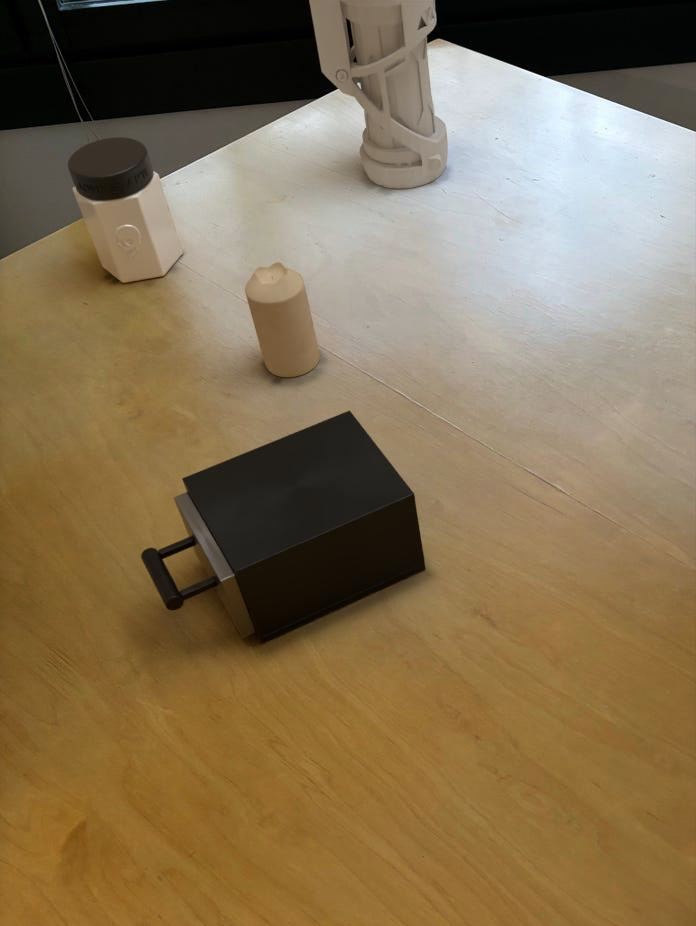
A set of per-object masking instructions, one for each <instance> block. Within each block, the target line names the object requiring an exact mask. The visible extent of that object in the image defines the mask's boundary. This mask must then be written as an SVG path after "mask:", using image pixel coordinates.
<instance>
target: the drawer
mask: <svg viewBox="0 0 696 926" xmlns="http://www.w3.org/2000/svg"><path fill="white" fill-rule="evenodd" d="M173 500H174V502H175V505H176V508H177V510H178V513H179V516H180V518H181V519H182V522H183V525H184V527H185V530H186V532H187V535H188V537H186V538H184V539H181V540H179V541H176V542H174V543H172V544H169V545H167V546H163V547H162V548H160V549H158V548H155V547H148V548H146V549H144V550H143V551H142V552H141V554H140V559H141V561H142V563H143V564H144V566H145V569H146V571H147V573H148V575H149V577H150V579H151V580H152V583H153V584H154V586H155V589H156V590H157V592H158V594H159V597H160V598H161V600H162V602H163V604H164V606H165V608H166V609H167V610H168V611H177V610H179V609H181V608H182V607H183V606H184V603H185V601H187V600H189V599H191V598H193V597H196V596H198V595H201V594H202V593H205V592H208V591H209V590H211V589H214V590H215V592H216V593H217V595H218V597H219V599H220V601H221V602H222V604H223V606H224V608H225V610H226V612H227V613H228V615H229V617H230V619H231V620H232V623H233V624H234V626H235V628H236V630H237V631H238V633H239V635H240V637H241V638H242V639H244V638H247V637H249V636H251V635H253V634H256V629H255V627H254V624H253V621H252V619H251V616H250V613H249V610H248V608H247V605H246V602H245V600H244V597H243V594H242V591H241V589H240V586H239V583H238V580H237V578H236V575H235V573H234V571H233V570H232V568H231V566H230V564H229V563H228V561H227V559H226V557H225V556H224V554H223V552H222V550H221V549H220V547H219V545H218V544H217V542H216V540H215V538H214V537H213V535H212V533H211V531H210V530H209V528H208V526H207V524H206V523H205V521H204V519H203V517H202V516H201V514H200V512H199V510H198V509H197V507H196V505H195V503H194V502H193V500H192V498H191V496H190V495H189V493H188V492H187V491H186V492H183V493H180V494H178V495H175V496H174V497H173ZM192 547H193V550H194V553H195V555H196V557H197V558H198V560H199V563H200V564H201V567H202V568H203V570H204V571H205V574H206V575H207V577H208V578H206V579H203V580H202V581H199V582H196V583H195V584H192V585H190V586H187V587H185V588H183V589H181V590H179V588H178V586H177V584H176V582H175V579H173V577H172V575H171V573H170V571H169V569H168V567H167V565H166V563H165V561H164V559H166V558H169V557H171V556H174V555H176V554H179V553H180V552H183V551H185V550H188V549H191V548H192Z"/></svg>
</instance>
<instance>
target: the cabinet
mask: <svg viewBox="0 0 696 926" xmlns="http://www.w3.org/2000/svg"><path fill="white" fill-rule="evenodd" d="M181 480H182V483H183V485H184V487H185V490H186V492H188V493H189V495H190V496H191V498H192V500H193V502H194V503H195V505H196V507H197V509H198V510H199V512H200V514H201V516H202V517H203V519H204V521H205V523H206V524H207V526H208V528H209V530H210V531H211V533H212V535H213V537H214V538H215V540H216V542H217V544H218V545H219V547H220V549H221V550H222V552H223V554H224V556H225V557H226V559H227V561H228V563H229V564H230V566H231V568H232V570H233V571H234V573H235V575H236V578H237V580H238V583H239V586H240V589H241V591H242V594H243V597H244V600H245V602H246V605H247V608H248V610H249V613H250V616H251V619H252V621H253V624H254V627H255V629H256V632H255V634H256V636H257V638H258V639H259V641H260V643H261V644H265V643H268V642H269V641H272V640H274V639H276V638H278V637H281V636H283V635H285V634H287V633H290V632H292V631H294V630H296V629H298V628H300V627H303V626H305V625H307V624H309V623H311V622H314V621H315V620H318V619H320V618H323V617H324V616H326V615H328V614H331V613H334V612H335V611H338V610H339V609H342V608H344V607H346V606H348V605H350V604H353V603H355V602H357V601H359V600H361V599H363V598H366V597H368V596H370V595H372V594H374V593H377V592H379V591H381V590H383V589H385V588H388V587H390V586H392V585H394V584H396V583H398V582H401V581H404V580H405V579H408V578H409V577H411V576H414V575H416V574H418V573H420V572H422V571H424V570H426V563H425V556H424V547H423V542H422V536H421V530H420V523H419V517H418V510H417V509H418V508H417V503H416V497H415V496H416V495H415V493H414V492H413V490H412V489H411V488H410V486H409V485H408V484H407V482H406V481H405V480H404V478H403V477H402V475H400V473H399V472H398V471H397V469H396V468H395V467H394V465H393V464H392V463H391V462H390V460H389V459H388V458H387V456H386V455H385V454H384V453H383V451H382V450H381V449H380V448H379V446H378V445H377V444H376V442H375V441H374V440H373V438H372V437H371V436H370V435H369V433H368V432H367V430H366V429H365V428H364V427H363V425H362V424H361V423H360V422H359V420H358V419H357V418H356V417H355V415H354V414H353V413H352V411H351V410H347V411H344V412H342V413H340V414H337V415H335V416H332V417H330V418H327V419H324V420H321V421H319V422H317V423H315V424H312V425H310V426H307V427H305V428H303V429H300V430H297V431H295V432H293V433H290V434H287V435H285V436H283V437H281V438H278V439H275V440H273V441H271V442H269V443H268V442H267V443H266V444H263V445H260V446H259V447H256V448H254V449H251V450H249V451H246V452H244V453H241V454H239V455H237V456H233V457H231V458H229V459H226V460H224V461H221V462H219V463H216V464H214V465H212V466H209V467H207V468H204V469H202V470H199V471H197V472H195V473H192V474H189V475H187V476H185V477H182V478H181Z"/></svg>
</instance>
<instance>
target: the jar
mask: <svg viewBox="0 0 696 926" xmlns="http://www.w3.org/2000/svg"><path fill="white" fill-rule="evenodd" d="M67 169H68V171H69V172H68V173H69V174H70V177H71V179H72V183H73V185H74V186H73V187H72V192H73V195H74V197H75V200H76V203H77V205H78V207H79V211H80V213H81V215H82V219H83V220H84V223H85V226H86V228H87V231H88V233H89V236H90V238H91V242H92V244H93V247H94V249H95V252H96V255H97V257H98V260H99V262H100V265H101V267H102V268H103V269H104V270H106V271H107V272H108V273H110V274H111V276H113V277H114V278H116V279H117V280H119V281H120V282H121V283H122V284H126V283H131V282H132V283H133V282H138V281H143V280H149V279H155V278H161V277H164V276H165V275H166V274H167V273H168V272H169V271H170V269H171V268H172V267H173V266H174V265H175V264H176V262H177V261H179V259H180V258H181V256H182V255H183V254H184V251H183V248H182V245H181V241H180V237H179V235H178V232H177V229H176V226H175V223H174V219H173V216H172V213H171V210H170V206H169V203H168V200H167V196H166V194H165V191H164V187H163V184H162V181H161V178H160V174H159V173H158V172H156V171H155V170H154V169H153V165H152V163H151V159H150V157H149V153H148V149H147V147H146V146H145V145H144V143H142V142H141V141H139V140H137V139H135V138H130V137H124V136H123V137H122V136H121V137H119V136H118V137H117V136H116V137H108V138H107V137H106V138H102V139H97V140H95V141H92V142H89V143H87V144H85V145H83V146H81V147H79V148H78V149H77V150H75V151H74V152H73V153H72V154H71V156H70V157H69V158H68V161H67Z"/></svg>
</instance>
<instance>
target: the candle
mask: <svg viewBox="0 0 696 926" xmlns="http://www.w3.org/2000/svg"><path fill="white" fill-rule="evenodd" d="M244 292H245V297H246V300H247V303H248V307H249V311H250V315H251V319H252V322H253V326H254V330H255V333H256V336H257V337H256V338H257V341H258V344H259V348H260V352H261V355H262V358H263V362H264V365H265V368H266V369H267V370H268V372H270V374H272V375H274V376H277V377H282V378H294V377H299V376H302V375H305V374H307V373H309V372H311V371H312V370H313V369H315V368H316V367H317V365H318V364H319V362H320V358H321V357H320V355H321V353H320V349H319V342H318V339H317V334H316V329H315V325H314V321H313V315H312V311H311V307H310V303H309V298H308V294H307V289H306V285H305V280H304V277H303V276H302V275H301V274H300V273H299V272H298V271H296V270H294V269H293V268H291V267H288V266H286V265H285V264H283V263H282V262H280V261H277V262H276V261H275V262H274V263H273V264H271V265H269V266H259V267H256V268H255V269H254V271H253V273H252V275H251V276H250V278H249V279H248V280H247V282H246V284H245V287H244Z"/></svg>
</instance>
